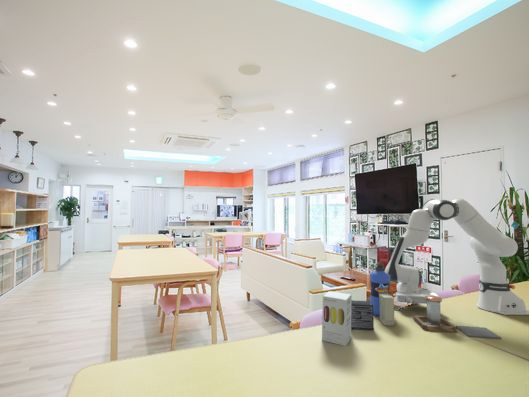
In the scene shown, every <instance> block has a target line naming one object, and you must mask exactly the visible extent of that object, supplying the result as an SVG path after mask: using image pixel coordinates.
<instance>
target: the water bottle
mask: <svg viewBox="0 0 529 397" xmlns="http://www.w3.org/2000/svg"><path fill="white" fill-rule="evenodd" d="M385 268H386V266H385V264H384V263H383V262H382V261H379V262H376V263H375V271H372V272H370V273H369V281H370V294H369V301H370V302H371V303H372V304H373V317H378V318H380V299H379V294H389V295H390V284H391V281H390V275H389V274H387V273H385Z"/></svg>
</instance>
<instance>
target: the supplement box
mask: <svg viewBox="0 0 529 397" xmlns="http://www.w3.org/2000/svg"><path fill="white" fill-rule="evenodd" d="M351 300H352V294H350V293H344V292H337V291H332V290H329V291H327V292H326V293H325V294H324V295H323V296H322V314H321V315H322V316H321V317H322V318H321V320H322V321H321V341H323V342H327V343H332V344H337V345H341V346H345V347H346V346H347V345H348V343H349V341H350V339H351V338H352V329H351Z"/></svg>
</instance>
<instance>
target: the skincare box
mask: <svg viewBox="0 0 529 397" xmlns="http://www.w3.org/2000/svg"><path fill="white" fill-rule="evenodd" d="M394 297H395V296H394ZM394 297H393V296H392V295H391V294H390V293H389V294H379V299H380V317H379V321H380V322H381V323H382V324H383V325H384V326H395V298H394Z"/></svg>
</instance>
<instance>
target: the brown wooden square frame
mask: <svg viewBox="0 0 529 397" xmlns="http://www.w3.org/2000/svg"><path fill="white" fill-rule="evenodd" d="M412 319H413V321H414V322H415V323H416V324H417V325H418V326H419V327H420V328H421V329H422V330H424V331H425V330H426V331H428V332H429V331H430V332H442V333H443V332H444V333H445V332H446V333H454V332H455V333H456V332H457V328H456V325H454V324H452V323H451V322H449V321H448V319H445V317H441V322H442V323H443V324H442V323H441V324H442V325H441V326H437V325H428V324H427V323H425V322H427V315H413V317H412Z"/></svg>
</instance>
